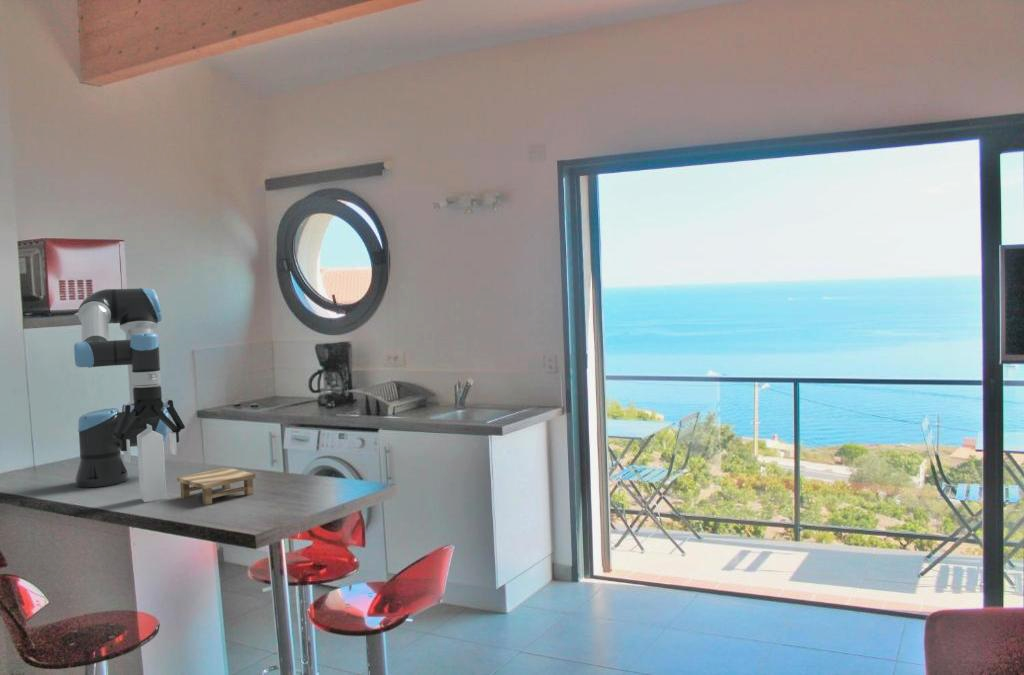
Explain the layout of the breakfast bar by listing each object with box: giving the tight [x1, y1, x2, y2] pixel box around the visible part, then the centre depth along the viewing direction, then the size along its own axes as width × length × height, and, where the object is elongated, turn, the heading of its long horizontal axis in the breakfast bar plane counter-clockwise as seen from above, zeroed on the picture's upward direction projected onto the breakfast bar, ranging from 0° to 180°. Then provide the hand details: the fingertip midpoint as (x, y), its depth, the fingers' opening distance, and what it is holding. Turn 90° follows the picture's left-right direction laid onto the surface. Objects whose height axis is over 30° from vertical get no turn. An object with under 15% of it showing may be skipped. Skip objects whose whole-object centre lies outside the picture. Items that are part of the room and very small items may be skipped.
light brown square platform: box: [176, 466, 256, 506], centre depth 235 cm, size 16×16×6 cm
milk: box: [136, 424, 167, 503], centre depth 233 cm, size 6×6×22 cm
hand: (151, 458), depth 233 cm, fingers open, 13 cm apart
